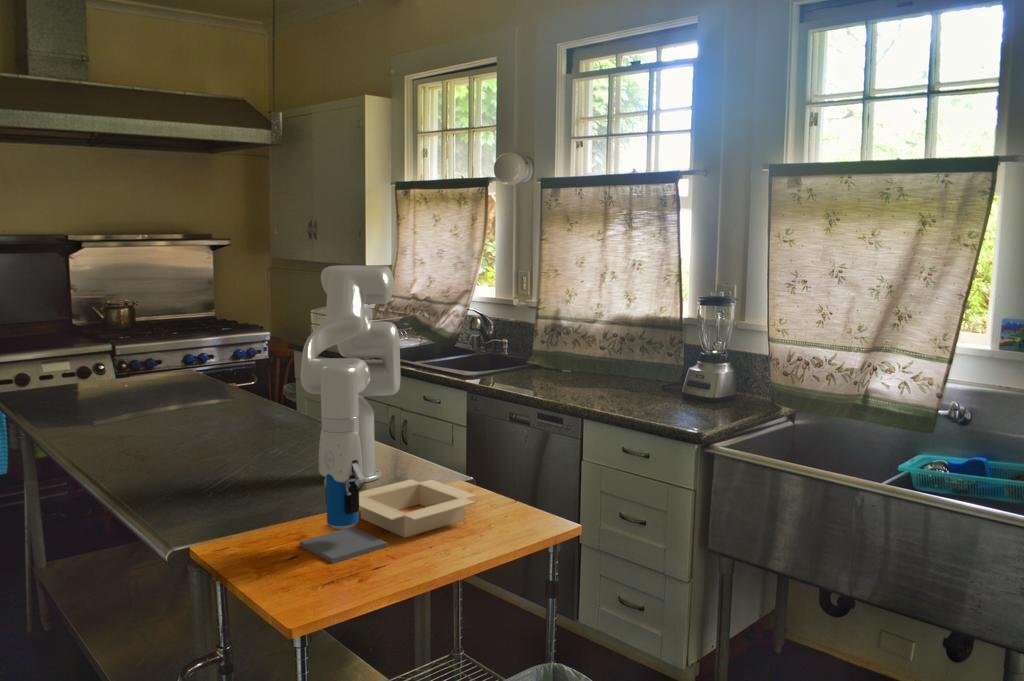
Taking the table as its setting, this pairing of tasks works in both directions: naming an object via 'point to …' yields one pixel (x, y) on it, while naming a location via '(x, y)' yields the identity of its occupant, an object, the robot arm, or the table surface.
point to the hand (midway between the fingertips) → (342, 507)
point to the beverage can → (338, 505)
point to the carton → (436, 496)
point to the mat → (343, 544)
